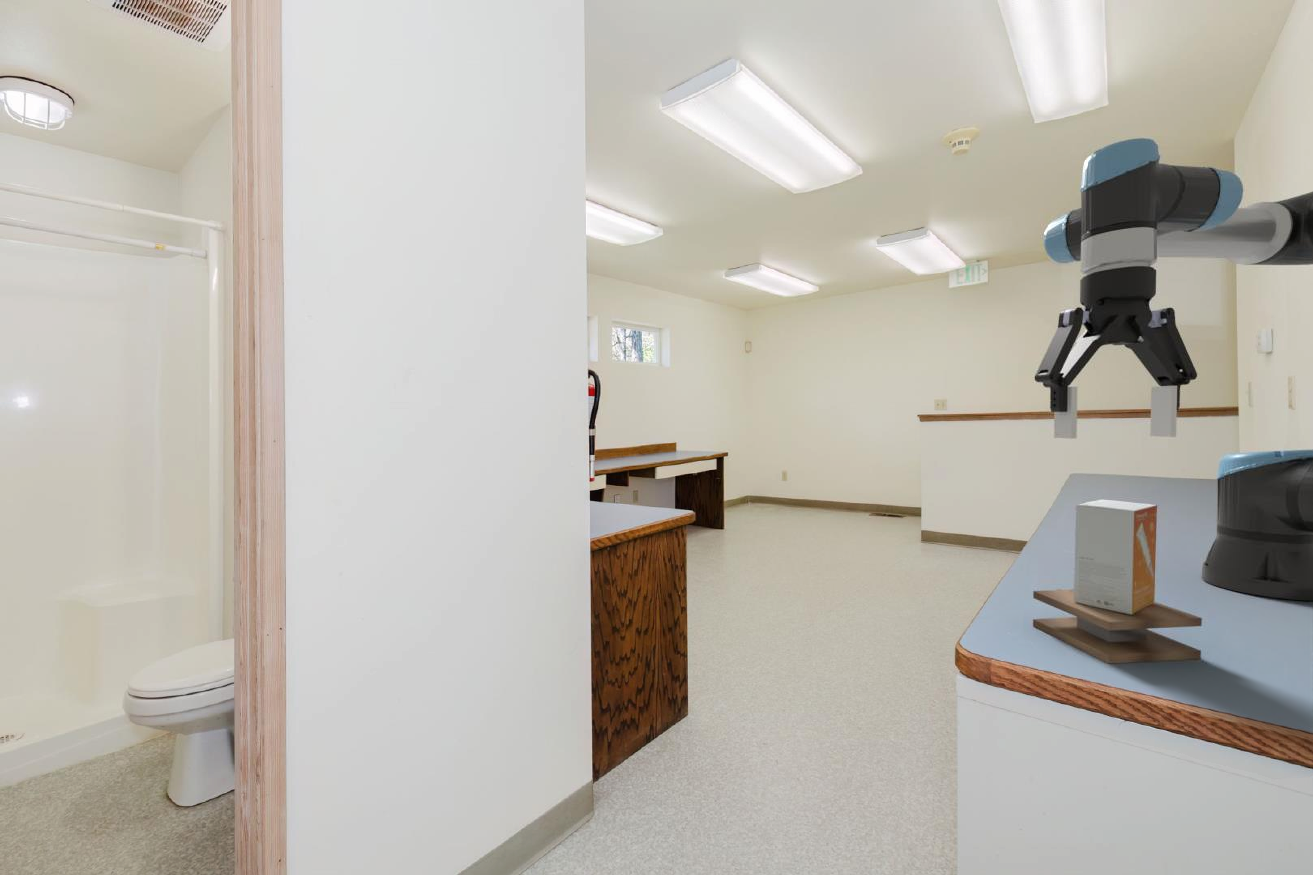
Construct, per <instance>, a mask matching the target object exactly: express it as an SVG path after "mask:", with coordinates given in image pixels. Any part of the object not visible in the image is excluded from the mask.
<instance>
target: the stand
mask: <svg viewBox="0 0 1313 875" xmlns="http://www.w3.org/2000/svg"><path fill="white" fill-rule="evenodd" d="M1032 596H1033V597H1032V598H1033V599H1035V600H1037V601H1039V602H1041V603H1044V604H1046V605H1049V606H1051V607H1053V608H1056V609H1057V610H1060V611H1063V612H1065V613H1068V615H1069V614H1070V615H1072V617H1054V618H1053V617H1051V618H1035V619H1034V618H1033V619H1032V627H1034V628H1036V629H1038V630H1039V631H1042V632H1044V633H1046V634H1048V635H1050V636H1052V637H1054V638H1056V639H1057V640H1060V641H1062V642H1064V643H1066V644H1068V645H1070V646H1072V647H1074V648H1077V649H1079V651H1083V652H1084V653H1087V654H1089V655H1091V656H1092V657H1094V658H1096V659H1098V660H1100V661H1103V662H1105V663H1107V664H1121V663H1144V662H1146V663H1147V662H1161V661H1164V662H1165V661H1179V660H1180V661H1184V660H1185V661H1186V660H1201V658H1202V650H1200V649H1198V648H1196V647H1193V646H1190V645H1188V644H1185V643H1183V642H1180V641H1178V640H1176V639H1172V638H1170V637H1168V636H1166V635H1163V634H1161V633H1157V632H1155V631H1152V630H1150V629H1169V628H1189V627H1202V623H1203V621H1202V619H1203V618H1202V617H1200V616H1197V615H1195V614H1191V613H1188V612H1186V611H1183V610H1180V609H1177V608H1173V607H1171V606H1168V605H1165V604H1161V603H1159V602H1156V601H1154V603H1153V604H1151V605H1149V606H1147V607H1145V608H1143V609H1141V610H1139V611H1137V612H1135V613H1134V614H1133V615H1131V614H1126V613H1121V612H1116V611H1111V610H1107V609H1103V608H1098V607H1094V606H1089V605H1085V604H1081V603H1077V602H1074V588H1073V589H1072V588H1071V589H1055V590H1054V589H1053V590H1051V589H1050V590H1048V589H1047V590H1033V595H1032ZM1073 616H1074V617H1073Z"/></svg>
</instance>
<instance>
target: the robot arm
mask: <svg viewBox="0 0 1313 875" xmlns="http://www.w3.org/2000/svg"><path fill="white" fill-rule="evenodd" d="M1160 159H1161V155H1160V153H1159V144H1157V142H1156V141H1155V140H1154V139H1151V138H1146V137H1145V138H1144V137H1143V138H1142V137H1139V138H1130V139H1125V140H1121V141H1117V142H1114V143H1111V144H1108V145H1106V146H1103V147H1101V148H1099V149H1096V151H1094V152H1093V153H1091V154H1090V155H1089V156H1088V157H1087V158H1086V159H1085V161H1084V162H1083V165H1082V175H1081V184H1080V185H1081V186H1080V188H1079V191H1080V193H1081V194H1080V196H1081V199H1080V200H1081V201H1080V202H1081V203H1080V204H1081V206H1080V208H1077V209H1072V210H1071V211H1068V213H1066V214H1063V215H1061V216H1059V217H1057V218H1056V219H1054V220H1052V221H1051V222H1050V223H1049V225H1048V226H1047V228H1046V229H1045V230H1044V235H1043V246H1044V249H1045V250H1044V251H1045V252H1046V254H1047V256H1048V257H1049V258H1050V259H1051V260H1053V261H1054V262H1057V263H1058V264H1059V263H1060V264H1069V263H1074V262H1076V263H1077V262H1080V272H1081V273H1082V274H1083V275H1084V276H1083V277H1082V278H1081V279H1080V280H1079V281H1080V282H1079V284H1080V285H1079V287H1080V288H1079V303H1080V304H1081V306H1083V308H1084V309H1083V308H1082V307H1079V306H1078V307H1074V308H1069V309H1066V310H1062V311H1060V313H1059V314H1058V315H1059V316H1058V321H1057V322H1058V323H1057V329H1056V331H1055V333H1054V335H1053V337H1052V339H1051V341H1050V343H1049V345H1048V348H1047V350H1046V352H1045V354H1044V355H1043V358H1042V360H1041V362H1040V364H1039V366H1038V369H1037V371H1036V373H1035V375H1034V380H1035V382H1036V383H1042V385H1043V387H1045V388H1049V391H1050V392H1049V393H1050V396H1049V398H1050V399H1049V401H1050V402H1049V406H1050V407H1049V409H1050V411H1051V413H1054V414H1053V415H1054V419H1053V420H1054V422H1053V423H1054V424H1053V427H1054V428H1053V438H1054V439H1073V440H1074V439H1077V436H1078V435H1077V434H1078V429H1077V428H1078V386H1070V385H1071V384H1072V382H1074V380H1075V379H1076V378H1077V376H1078V375H1079V374H1081V372H1082V370H1084V368H1085V366H1086V365H1087V364H1088V363H1089V362H1090V360H1091V359H1092V357H1093V356H1094V355H1095V354H1096V353H1097V352H1098V350H1099V349H1100V348H1101V347H1104V346H1107V345H1112V346H1124V347H1125V348H1127V349H1130V350H1131V351H1132V352H1133V354H1134V355H1135V356H1136V357H1137V359H1138V361H1140V363H1141V364H1142V366H1143V367H1144V368H1145V370H1146V371H1147V372H1148V373H1149V374H1150V376H1151V377H1152V378H1153V380H1154V381H1155V382H1156V384H1157V385H1158V386H1151V387H1150V388H1151V390H1150V391H1151V392H1150V394H1151V396H1150V437H1168V438H1169V437H1170V438H1171V437H1173V438H1175V437H1177V416H1178V415H1177V414H1178V413H1177V411H1179V410H1180V405H1181V402H1180V401H1181V399H1180V398H1181V387H1182V386H1186V385H1187V386H1188V385H1190V382H1191V381H1193V380H1196V379H1197V377H1198V373H1197V370H1196V367H1195V366H1194V364H1193V361H1192V359H1191V356H1190V354H1189V352H1188V350H1187V348H1186V345H1185V343H1184V340H1183V339H1182V336H1181V334H1180V332H1179V329H1178V327H1177V325H1176V324H1177V323H1176V314H1175V310H1174V307H1166V308H1161V309H1156V310H1152V309H1151V308H1150V307H1151V306H1150V301H1152V299H1153V298H1154V297H1155V296H1156V294H1157V269H1155V268H1154V267H1153V265H1154V264H1155V263H1157V261H1158V258H1190V259H1191V258H1200V259H1201V258H1202V259H1204V258H1206V259H1207V258H1210V259H1212V258H1213V259H1226V260H1227V261H1228V262H1230V263H1233V264H1236V265H1244V266H1245V265H1247V266H1251V265H1253V266H1259V265H1260V266H1302V265H1303V266H1307V265H1313V191H1310V192H1308V193H1304V194H1300V195H1297V196H1294V197H1291V198H1286V199H1283V200H1278V201H1261V202H1256V203H1251V204H1249V205H1247V206H1244V207H1239V206H1240V204H1241V202H1242V200H1243V195H1244V194H1243V193H1244V186H1243V183H1242V180H1241V178H1240V177H1239V176H1238V175H1237V174H1236V173H1234V172H1232V171H1228V170H1223V169H1219V168H1214V167H1212V166H1207V167H1205V166H1203V167H1202V166H1187V165H1174V164H1166V163H1159V162H1160ZM1082 326H1083V327H1084V328H1085V330H1084V331H1083V333H1081V335H1080V336H1079V334H1080V332H1081V330H1082V329H1081V328H1082ZM1078 337H1079V338H1078ZM1074 344H1075V346H1074ZM1181 370H1182V371H1181ZM1215 479H1216V480H1215V481H1216V483H1217V490H1216V492H1217V493H1216V495H1217V497H1216V498H1217V499H1216V536H1215V540H1214V542H1213V543H1212V545H1211V548H1210V550H1209V551H1208V553H1207V556H1206V559H1205V561H1204V562H1203V563H1202V566H1201V579H1202V580H1203V581H1204V582H1206V583H1209V584H1210V585H1213V586H1217V587H1220V588H1224V589H1227V590H1231V591H1236V592H1240V593H1244V594H1250V595H1255V596H1256V595H1257V596H1261V597H1269V598H1277V599H1284V600H1294V601H1295V600H1296V601H1313V449H1293V450H1292V449H1291V450H1273V451H1271V450H1270V451H1269V450H1268V451H1253V452H1236V453H1235V452H1234V453H1229V454H1226V455H1224V456H1223V457H1221V459H1220V460H1219V464H1218V469H1217V475H1216V478H1215Z"/></svg>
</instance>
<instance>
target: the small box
mask: <svg viewBox="0 0 1313 875" xmlns="http://www.w3.org/2000/svg"><path fill="white" fill-rule="evenodd" d="M1157 518H1158V505H1157V504H1150V503H1143V502H1142V503H1139V502H1131V501H1122V500H1114V499H1113V500H1112V499H1098V500H1094V501H1092V500H1090V501H1086V502H1083V503H1080V504H1076V505H1075V526H1074V528H1075V530H1074V538H1075V539H1074V581H1073V582H1074V583H1073V589H1074V602H1077V603H1081V604H1085V605H1089V606H1094V607H1098V608H1103V609H1107V610H1111V611H1116V612H1121V613H1126V614H1131V615H1133V614H1134V613H1135V612H1137V611H1139V610H1141V609H1143V608H1145V607H1147V606H1149V605H1151V604H1153V603H1154V602H1155V594H1156V592H1155V589H1156V583H1155V582H1156V557H1157V556H1156V555H1157V554H1156V552H1157V551H1156V550H1157V523H1158V522H1157Z"/></svg>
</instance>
